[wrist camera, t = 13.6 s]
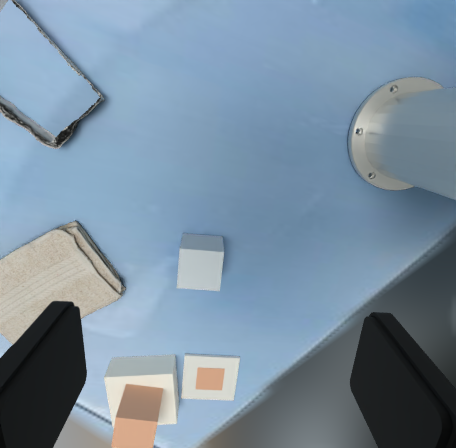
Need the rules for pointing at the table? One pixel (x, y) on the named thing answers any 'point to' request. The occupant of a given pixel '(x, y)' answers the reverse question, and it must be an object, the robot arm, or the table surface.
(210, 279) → the grey blue block
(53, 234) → the washcloth
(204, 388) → the card
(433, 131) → the robot arm
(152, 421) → the terracotta block
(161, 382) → the base block
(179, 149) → the table surface
